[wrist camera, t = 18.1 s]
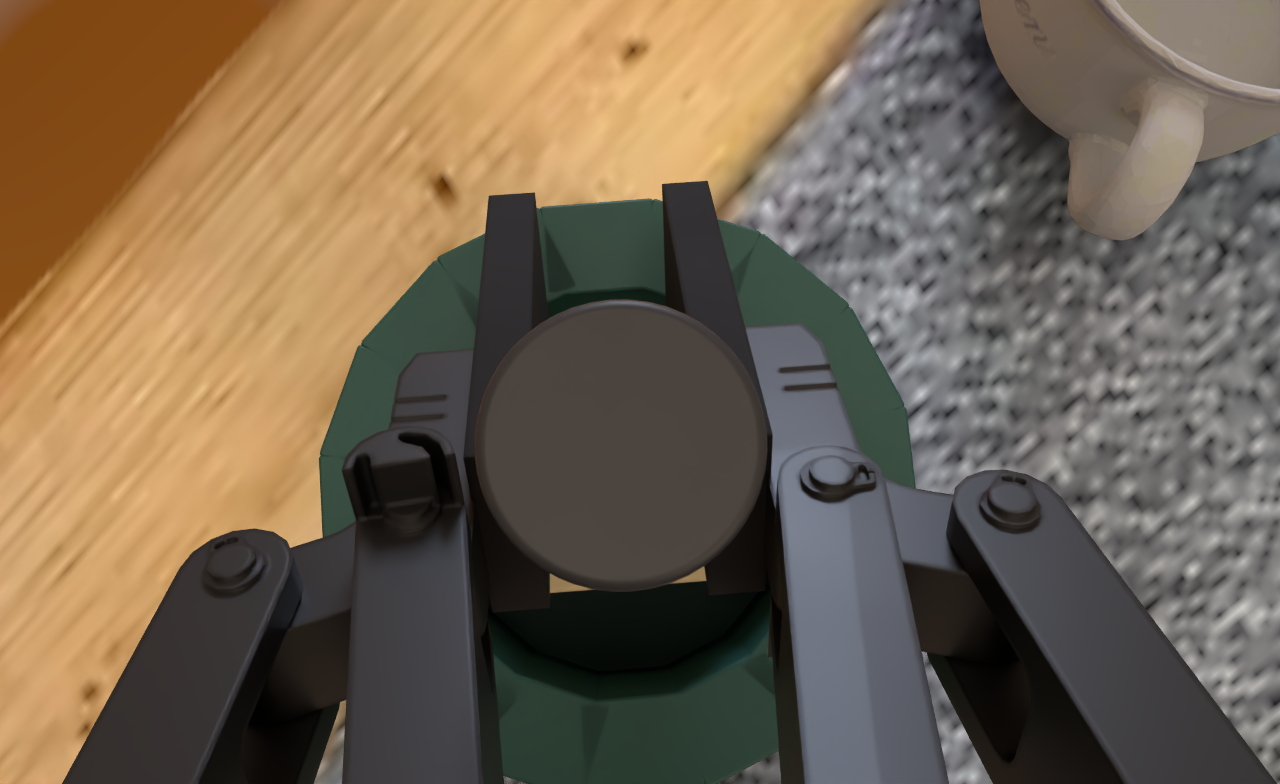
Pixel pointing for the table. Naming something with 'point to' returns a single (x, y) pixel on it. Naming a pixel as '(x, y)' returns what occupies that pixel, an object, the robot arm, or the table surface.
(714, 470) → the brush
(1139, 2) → the teacup
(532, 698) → the green plastic cup
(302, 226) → the table surface
